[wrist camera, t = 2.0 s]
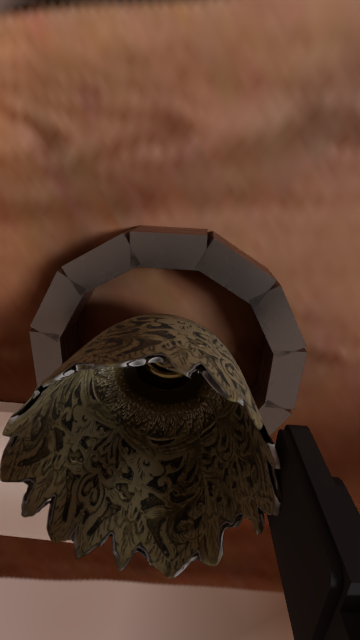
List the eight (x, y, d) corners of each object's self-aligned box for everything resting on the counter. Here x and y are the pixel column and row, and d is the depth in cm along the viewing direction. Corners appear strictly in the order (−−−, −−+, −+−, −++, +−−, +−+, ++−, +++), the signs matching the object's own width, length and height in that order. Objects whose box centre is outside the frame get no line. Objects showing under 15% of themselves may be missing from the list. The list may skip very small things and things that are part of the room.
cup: (172, 434, 18) (148, 610, 10) (65, 349, 16) (-53, 483, 9) (278, 350, 15) (345, 500, 8) (164, 240, 14) (117, 300, 6)
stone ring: (313, 235, 13) (331, 242, 11) (270, 451, 18) (278, 482, 16) (39, 219, 14) (13, 224, 12) (64, 432, 18) (47, 460, 16)
